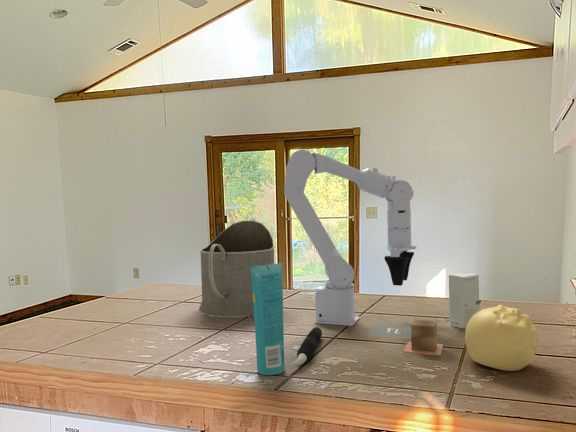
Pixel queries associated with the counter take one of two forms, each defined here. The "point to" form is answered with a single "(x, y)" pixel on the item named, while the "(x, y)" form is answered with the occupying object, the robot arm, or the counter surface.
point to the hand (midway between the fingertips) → (400, 282)
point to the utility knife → (307, 347)
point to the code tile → (391, 331)
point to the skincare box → (463, 298)
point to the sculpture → (501, 338)
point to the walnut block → (424, 335)
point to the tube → (268, 317)
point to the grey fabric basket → (233, 268)
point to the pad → (437, 351)
